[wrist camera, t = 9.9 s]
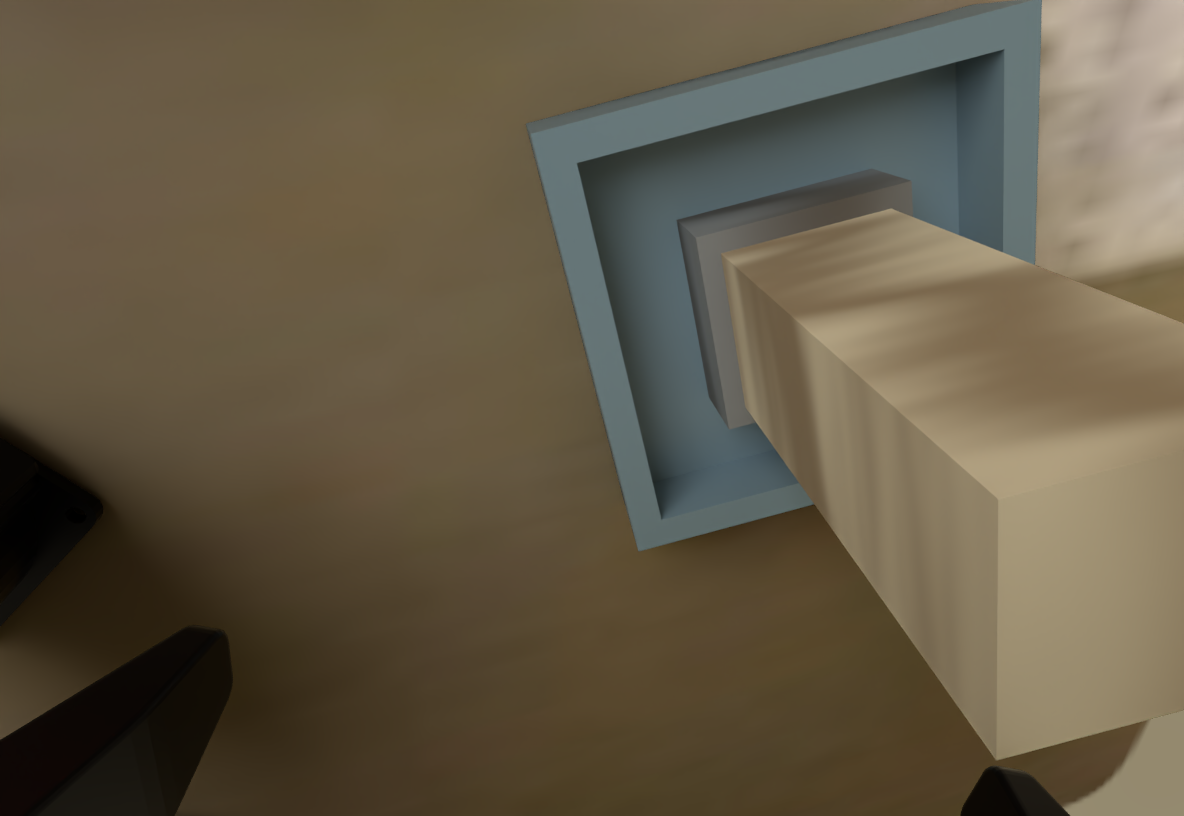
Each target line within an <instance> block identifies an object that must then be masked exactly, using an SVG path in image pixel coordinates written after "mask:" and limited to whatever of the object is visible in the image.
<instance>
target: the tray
mask: <svg viewBox="0 0 1184 816" xmlns="http://www.w3.org/2000/svg"><path fill="white" fill-rule="evenodd" d="M1041 9H1042V0H1015V1H1005V2H994V3H984V4H974V5H970V6H966V7H962V8H959V9H955V10H951V11H947V12H944V13H940V14H936V15H932V16H929V17H925V18H921V19H917V20H914V21H910V22H906V23H902V24H899V25H895V26H891V27H887V28H883V29H880V30H876V31H872V32H868V33H865V34H861V35H857V36H853V37H850V38H846V39H842V40H838V41H835V42H831V43H827V44H823V45H820V46H816V47H812V48H808V49H805V50H801V51H797V52H793V53H790V54H786V55H782V56H778V57H775V58H771V59H767V60H763V61H760V62H756V63H752V64H748V65H745V66H741V67H737V68H733V69H730V70H726V71H722V72H718V73H714V74H711V75H707V76H703V77H699V78H696V79H692V80H688V81H684V82H681V83H677V84H673V85H669V86H666V87H662V88H658V89H654V90H651V91H647V92H643V93H639V94H636V95H632V96H628V97H624V98H621V99H617V100H613V101H609V102H606V103H602V104H598V105H594V106H591V107H587V108H583V109H579V110H576V111H572V112H568V113H564V114H561V115H557V116H553V117H549V118H545V119H542V120H538V121H534V122H530V123H527V124H526V127H527V131H528V135H529V138H530V142H531V146H532V150H533V154H534V158H535V161H536V165H537V169H538V173H539V177H540V181H541V184H542V188H543V192H544V196H545V200H546V204H547V207H548V211H549V215H550V219H551V223H552V227H553V230H554V234H555V238H556V242H557V246H558V250H559V253H560V257H561V261H562V265H563V269H564V273H565V276H566V280H567V284H568V288H569V292H570V296H571V300H572V303H573V307H574V311H575V315H576V319H577V323H578V326H579V330H580V334H581V338H582V342H583V346H584V349H585V353H586V357H587V361H588V365H589V369H590V372H591V376H592V380H593V384H594V388H595V392H596V395H597V399H598V403H599V407H600V411H601V415H602V418H603V422H604V426H605V430H606V434H607V438H608V441H609V445H610V449H611V453H612V457H613V461H614V464H615V468H616V472H617V476H618V480H619V484H620V488H621V491H622V495H623V499H624V503H625V506H626V510H627V513H628V517H629V520H630V523H631V527H632V530H633V534H634V537H635V541H636V544H637V547H638V551H642V550H646V549H650V548H653V547H657V546H661V545H664V544H668V543H672V542H676V541H679V540H683V539H687V538H691V537H694V536H698V535H702V534H705V533H709V532H713V531H717V530H720V529H724V528H728V527H731V526H735V525H739V524H743V523H746V522H750V521H754V520H757V519H761V518H765V517H769V516H772V515H776V514H780V513H783V512H787V511H791V510H795V509H798V508H802V507H806V506H809V505H813V504H814V503H813V502H812V500H811V499H810V497H809V496H808V495H807V493H806V492H805V490H804V489H803V488H802V486H801V485H800V483H799V482H798V481H797V479H796V478H795V476H794V475H793V473H792V472H791V471H790V469H789V468H788V466H787V465H786V464H785V462H784V461H783V459H782V458H781V457H780V455H779V454H778V452H777V451H776V450H775V448H774V447H773V445H772V444H771V442H770V441H769V440H768V438H767V437H766V435H765V434H764V433H763V431H762V430H761V428H760V427H759V426H758V424H757V423H752V424H748V425H744V426H741V427H737V428H733V429H728V427H727V425H726V424H725V422H724V421H723V419H722V417H721V416H720V414H719V413H718V411H717V409H716V408H715V406H714V405H713V403H712V401H711V400H710V398H709V395H708V390H707V384H706V379H705V373H704V368H703V362H702V357H701V352H700V346H699V341H698V335H697V330H696V324H695V319H694V313H693V308H692V302H691V297H690V292H689V286H688V281H687V275H686V270H685V264H684V259H683V253H682V248H681V242H680V237H679V232H678V226H677V221H676V220H678V219H682V218H686V217H689V216H693V215H697V214H701V213H705V212H708V211H712V210H716V209H720V208H724V207H727V206H731V205H735V204H739V203H743V202H746V201H750V200H754V199H758V198H761V197H765V196H769V195H773V194H777V193H780V192H784V191H788V190H792V189H796V188H799V187H803V186H807V185H811V184H815V183H818V182H822V181H826V180H830V179H834V178H837V177H841V176H845V175H849V174H852V173H856V172H860V171H864V170H868V169H871V168H872V169H875V170H878V171H881V172H885V173H888V174H891V175H894V176H897V177H901V178H904V179H907V180H910V181H912V203H913V217H914V218H917V219H919V220H922V221H924V222H927V223H929V224H932V225H934V226H937V227H939V228H942V229H945V230H947V231H950V232H952V233H955V234H957V235H960V236H962V237H965V238H967V239H970V240H972V241H975V242H978V243H980V244H983V245H985V246H988V247H990V248H993V249H995V250H998V251H1000V252H1003V253H1005V254H1008V255H1011V256H1013V257H1016V258H1018V259H1021V260H1023V261H1026V262H1028V263H1031V264H1033V265H1035V242H1036V203H1037V164H1038V126H1039V87H1040V48H1041Z"/></svg>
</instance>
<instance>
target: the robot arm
mask: <svg viewBox="0 0 1184 816" xmlns="http://www.w3.org/2000/svg"><path fill="white" fill-rule="evenodd" d="M73 507H76V508H79V509H82V510H83V511H84V512H85V514H86V515H81V514H78V513H77V512H75V511H74V509H73ZM102 513H103V506H102V504H101V503H100V501H99V500H98V499H97V498H96V497H95V496H93V495H92V494H90V493H89V492H87V491H85V490H84V489H82V488H81V487H79V486H77V485H76V484H74V483H72V482H71V481H69V480H68V479H66V478H64V477H63V476H61V475H60V474H58V473H56V472H55V471H53V470H52V469H50V468H48V467H47V466H45V465H43V464H42V463H40V462H39V461H37V460H35V459H34V458H32V457H31V456H29V455H27V454H26V453H24V452H22V451H21V450H19V449H18V448H16V447H14V446H13V445H11V444H10V443H8V442H6V441H5V440H3V439H2V438H0V626H1V625H2V624H3V623H4V622H5V621H6V620H7V619H8V617H9V616H10V615H11V614H12V613H13V612H14V611H15V610H16V609H17V608H18V607H19V606H20V604H21V603H22V602H23V601H24V600H25V599H26V598H27V597H28V596H29V595H30V594H31V593H32V592H33V590H34V589H35V588H36V587H37V586H38V585H39V584H40V583H41V582H42V581H43V580H44V579H45V578H46V576H47V575H48V574H49V573H50V572H51V571H52V570H53V569H54V568H55V567H56V566H57V565H58V564H59V562H60V561H61V560H62V559H63V558H64V557H65V556H66V555H67V554H68V553H69V552H70V551H71V549H72V548H73V547H74V546H75V545H76V544H77V543H78V542H79V541H80V540H81V539H82V538H83V537H84V535H85V534H86V533H87V532H88V531H89V530H90V529H91V528H92V527H93V526H94V525H95V523H96V522H97V521H98V520H99V519H100V517H101V515H102ZM232 683H233V674H232V666H231V658H230V650H229V641H228V637H227V635H226V633H225V632H224V631H223V630H220V629H215V628H210V627H204V626H198V625H191V626H188V627H185V628H183V629H181V630H180V631H178V632H176V633H175V634H173V635H171V636H170V637H168V638H166V639H165V640H163V641H162V642H160V643H158V644H157V645H155V646H153V647H152V648H150V649H148V650H147V651H145V652H144V653H142V654H140V655H139V656H137V657H135V658H134V659H132V660H130V661H129V662H127V663H126V664H124V665H122V666H121V667H119V668H117V669H116V670H114V671H112V672H111V673H109V674H108V675H106V676H104V677H103V678H101V679H99V680H98V681H96V682H95V683H93V684H91V685H90V686H88V687H86V688H85V689H83V690H81V691H80V692H78V693H77V694H75V695H73V696H72V697H70V698H68V699H67V700H65V701H63V702H62V703H60V704H59V705H57V706H55V707H54V708H52V709H50V710H49V711H47V712H45V713H44V714H42V715H41V716H39V717H37V718H36V719H34V720H32V721H31V722H29V723H28V724H26V725H24V726H23V727H21V728H19V729H18V730H16V731H14V732H13V733H11V734H10V735H8V736H6V737H5V738H3V739H1V740H0V816H175V814H176V812H177V810H178V808H179V806H180V803H181V801H182V799H183V797H184V795H185V793H186V790H187V788H188V786H189V784H190V782H191V779H192V777H193V775H194V773H195V771H196V769H197V766H198V764H199V762H200V760H201V758H202V755H203V753H204V751H205V749H206V747H207V744H208V742H209V740H210V738H211V736H212V734H213V731H214V729H215V727H216V725H217V723H218V720H219V718H220V716H221V714H222V712H223V710H224V707H225V705H226V703H227V701H228V698H229V696H230V693H231V689H232ZM960 816H1070V815H1069V814H1068V813H1067V812H1066V811H1065V810H1064V809H1063V808H1062V806H1061V805H1060V804H1059V803H1058V802H1057V801H1056V800H1055V799H1054V798H1053V797H1052V796H1051V795H1050V794H1049V793H1048V792H1047V791H1046V790H1045V789H1044V788H1043V787H1042V786H1041V784H1040V783H1039V782H1038V781H1037V780H1036V779H1035V778H1034V777H1032V776H1031V775H1030V774H1028V773H1027V772H1025V771H1022V770H1018V769H1012V768H1006V767H1001V766H990V767H989V768H987V769H985V771H984V772H983V774H982V775H981V777H980V779H979V780H978V782H977V783H976V785H975V787H974V788H973V790H972V792H971V793H970V795H969V797H968V798H967V800H966V802H965V803H964V805H963V807H962V811H961V815H960Z"/></svg>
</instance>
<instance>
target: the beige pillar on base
mask: <svg viewBox="0 0 1184 816" xmlns="http://www.w3.org/2000/svg"><path fill="white" fill-rule="evenodd" d="M676 221H677V226H678V232H679V237H680V242H681V248H682V253H683V259H684V264H685V270H686V275H687V281H688V286H689V292H690V297H691V302H692V308H693V313H694V319H695V324H696V330H697V335H698V341H699V346H700V352H701V357H702V362H703V368H704V373H705V379H706V384H707V390H708V395H709V398H710V400H711V401H712V403H713V405H714V406H715V408H716V409H717V411H718V413H719V414H720V416H721V417H722V419H723V421H724V422H725V424H726V425H727V427H728V429H733V428H737V427H741V426H744V425H748V424H752V423H757V424H758V426H759V427H760V428H761V430H762V431H763V433H764V434H765V435H766V437H767V438H768V440H769V441H770V442H771V444H772V445H773V447H774V448H775V450H776V451H777V452H778V454H779V455H780V457H781V458H782V459H783V461H784V462H785V464H786V465H787V466H788V468H789V469H790V471H791V472H792V473H793V475H794V476H795V478H796V479H797V481H798V482H799V483H800V485H801V486H802V488H803V489H804V490H805V492H806V493H807V495H808V496H809V497H810V499H811V500H812V502H813V503H814V504H815V506H816V507H817V509H818V510H819V512H820V513H821V514H822V516H823V517H824V519H825V520H826V521H827V523H828V524H829V526H830V527H831V528H832V530H833V531H834V533H835V534H836V535H837V537H838V538H839V540H840V541H841V543H842V544H843V545H844V547H845V548H846V550H847V551H848V552H849V554H850V555H851V557H852V558H853V559H854V561H855V562H856V564H857V565H858V566H859V568H860V569H861V571H862V572H863V573H864V575H865V576H866V578H867V579H868V581H869V582H870V583H871V585H872V586H873V588H874V589H875V590H876V592H877V593H878V595H879V596H880V597H881V599H882V600H883V602H884V603H885V604H886V606H887V607H888V609H889V610H890V612H891V613H892V614H893V616H894V617H895V619H896V620H897V621H898V623H899V624H900V626H901V627H902V628H903V630H904V631H905V633H906V634H907V635H908V637H909V638H910V640H911V641H912V643H913V644H914V645H915V647H916V648H917V650H918V651H919V652H920V654H921V655H922V657H923V658H924V659H925V661H926V662H927V664H928V665H929V666H930V668H931V669H932V671H933V672H934V674H935V675H936V676H937V678H938V679H939V681H940V682H941V683H942V685H943V686H944V688H945V689H946V690H947V692H948V693H949V695H950V696H951V697H952V699H953V700H954V702H955V703H956V704H957V706H958V707H959V709H960V710H961V712H962V713H963V714H964V716H965V717H966V719H967V720H968V721H969V723H970V724H971V726H972V727H973V728H974V730H975V731H976V733H977V734H978V735H979V737H980V738H981V740H982V741H983V743H984V744H985V745H986V747H987V748H988V750H989V751H990V752H991V754H992V755H993V757H994V758H995V759H996V761H997V760H1000V759H1004V758H1008V757H1011V756H1015V755H1019V754H1023V753H1026V752H1030V751H1034V750H1037V749H1041V748H1045V747H1049V746H1052V745H1056V744H1060V743H1063V742H1067V741H1071V740H1075V739H1078V738H1082V737H1086V736H1090V735H1093V734H1097V733H1101V732H1104V731H1108V730H1112V729H1116V728H1119V727H1123V726H1127V725H1130V724H1134V723H1138V722H1142V721H1145V720H1149V719H1153V718H1157V717H1160V716H1164V715H1168V714H1171V713H1175V712H1178V711H1182V710H1184V324H1183V323H1181V322H1178V321H1176V320H1173V319H1171V318H1168V317H1165V316H1163V315H1160V314H1158V313H1155V312H1153V311H1150V310H1148V309H1145V308H1143V307H1140V306H1138V305H1135V304H1132V303H1130V302H1127V301H1125V300H1122V299H1120V298H1117V297H1115V296H1112V295H1110V294H1107V293H1104V292H1102V291H1099V290H1097V289H1094V288H1092V287H1089V286H1087V285H1084V284H1082V283H1079V282H1077V281H1074V280H1071V279H1069V278H1066V277H1064V276H1061V275H1059V274H1056V273H1054V272H1051V271H1049V270H1046V269H1044V268H1041V267H1038V266H1036V265H1033V264H1031V263H1028V262H1026V261H1023V260H1021V259H1018V258H1016V257H1013V256H1011V255H1008V254H1005V253H1003V252H1000V251H998V250H995V249H993V248H990V247H988V246H985V245H983V244H980V243H978V242H975V241H972V240H970V239H967V238H965V237H962V236H960V235H957V234H955V233H952V232H950V231H947V230H945V229H942V228H939V227H937V226H934V225H932V224H929V223H927V222H924V221H922V220H919V219H917V218H914V217H913V203H912V181H910V180H907V179H904V178H901V177H897V176H894V175H891V174H888V173H885V172H881V171H878V170H875V169H872V168H871V169H868V170H864V171H860V172H856V173H852V174H849V175H845V176H841V177H837V178H834V179H830V180H826V181H822V182H818V183H815V184H811V185H807V186H803V187H799V188H796V189H792V190H788V191H784V192H780V193H777V194H773V195H769V196H765V197H761V198H758V199H754V200H750V201H746V202H743V203H739V204H735V205H731V206H727V207H724V208H720V209H716V210H712V211H708V212H705V213H701V214H697V215H693V216H689V217H686V218H682V219H678V220H676Z"/></svg>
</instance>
